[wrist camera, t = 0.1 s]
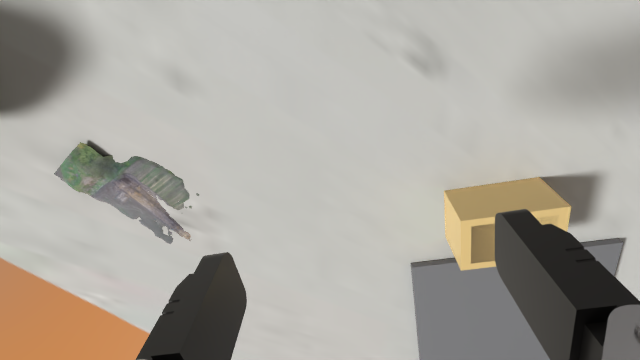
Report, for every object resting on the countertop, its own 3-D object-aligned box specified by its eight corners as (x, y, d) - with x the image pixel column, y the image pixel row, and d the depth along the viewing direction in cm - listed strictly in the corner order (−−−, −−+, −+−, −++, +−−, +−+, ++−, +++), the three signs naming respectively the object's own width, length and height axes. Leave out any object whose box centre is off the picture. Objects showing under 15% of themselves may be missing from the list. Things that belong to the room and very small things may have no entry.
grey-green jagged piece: (291, 252, 35) (291, 259, 34) (241, 292, 37) (240, 299, 36) (104, 113, 27) (97, 117, 26) (56, 173, 30) (49, 179, 29)
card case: (443, 189, 29) (460, 221, 25) (538, 176, 29) (571, 206, 25) (445, 235, 32) (460, 270, 28) (533, 223, 31) (562, 258, 27)
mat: (410, 263, 33) (412, 267, 33) (618, 238, 31) (623, 242, 30) (421, 378, 41) (422, 383, 41) (585, 365, 39) (588, 370, 39)
